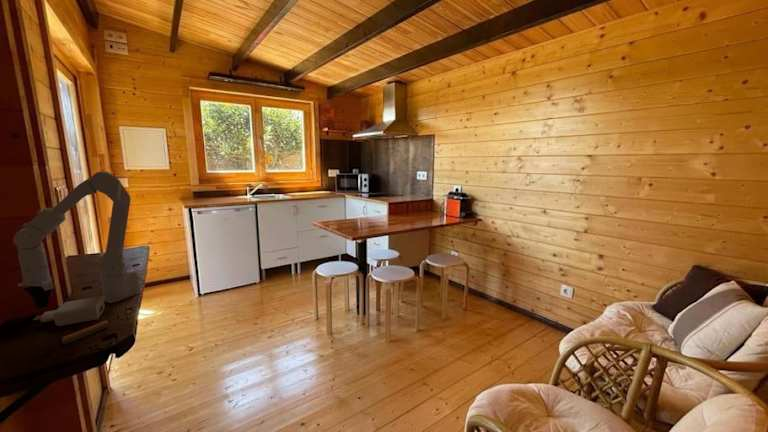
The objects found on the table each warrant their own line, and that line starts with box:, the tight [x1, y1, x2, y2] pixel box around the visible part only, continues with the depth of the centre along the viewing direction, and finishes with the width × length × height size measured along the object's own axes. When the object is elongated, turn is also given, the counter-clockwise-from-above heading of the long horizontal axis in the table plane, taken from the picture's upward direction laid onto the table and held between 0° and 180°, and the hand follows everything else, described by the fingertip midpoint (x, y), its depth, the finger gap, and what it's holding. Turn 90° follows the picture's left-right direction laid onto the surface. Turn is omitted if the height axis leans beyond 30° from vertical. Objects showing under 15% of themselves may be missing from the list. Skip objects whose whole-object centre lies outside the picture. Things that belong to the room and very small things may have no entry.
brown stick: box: [61, 320, 110, 345], centre depth 90 cm, size 10×1×2 cm, turn 156°
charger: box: [32, 295, 106, 327], centre depth 98 cm, size 5×9×15 cm
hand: (42, 307), depth 102 cm, fingers closed
